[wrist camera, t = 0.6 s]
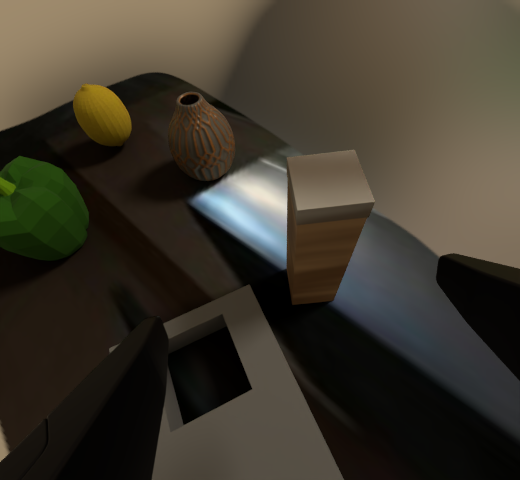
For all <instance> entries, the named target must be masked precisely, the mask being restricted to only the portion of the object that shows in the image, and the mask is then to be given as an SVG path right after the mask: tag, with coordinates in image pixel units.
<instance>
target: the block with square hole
mask: <svg viewBox="0 0 520 480" xmlns="http://www.w3.org/2000/svg"><path fill="white" fill-rule="evenodd" d="M163 325H164V327H165V330H166V332H167V335H168V338H169V351H168V354H170V353H172V352H174V351H176V350H178V349H180V348H182V347H184V346H187V345H189V344H191V343H193V342H195V341H197V340H199V339H201V338H203V337H205V336H207V335H209V334H212V333H214V332H216V331H218V330H220V329H222V328H224V327H226V326H227V327H228V329H229V332H230V334H231V337H232V339H233V342H234V344H235V347H236V349H237V352H238V354H239V357H240V359H241V362H242V364H243V367H244V369H245V372H246V374H247V377H248V379H249V382H250V384H251V387H252V390H250V391H248V392H246V393H244V394H242V395H241V396H239V397H237V398H235V399H233V400H231V401H229V402H227V403H225V404H224V405H222V406H220V407H218V408H216V409H214V410H212V411H210V412H208V413H206V414H205V415H203V416H201V417H199V418H197V419H195V420H193V421H191V422H189V423H188V424H186V425H183V421H182V418H181V414H180V410H179V406H178V402H177V398H176V395H175V391H174V387H173V383H172V379H171V376H170V372H169V368H168V370H167V387H166V396H165V403H164V409H163V415H162V421H161V427H160V433H159V439H158V445H157V451H156V457H155V463H154V469H153V475H152V480H344V479H343V477H342V475H341V473H340V471H339V469H338V467H337V465H336V463H335V461H334V458H333V456H332V454H331V452H330V450H329V448H328V446H327V444H326V442H325V440H324V438H323V436H322V434H321V432H320V430H319V427H318V425H317V423H316V421H315V419H314V417H313V415H312V413H311V411H310V409H309V407H308V405H307V403H306V401H305V398H304V396H303V394H302V392H301V390H300V388H299V386H298V384H297V382H296V380H295V378H294V376H293V374H292V372H291V370H290V367H289V365H288V363H287V361H286V359H285V357H284V355H283V353H282V351H281V349H280V347H279V345H278V343H277V341H276V339H275V336H274V334H273V332H272V330H271V328H270V326H269V324H268V322H267V320H266V318H265V316H264V314H263V312H262V310H261V307H260V305H259V303H258V301H257V299H256V297H255V295H254V293H253V291H252V289H251V287H250V285H247V286H245V287H242V288H240V289H238V290H236V291H234V292H231V293H229V294H227V295H225V296H223V297H221V298H218V299H216V300H214V301H212V302H210V303H207V304H205V305H203V306H201V307H199V308H197V309H194V310H192V311H190V312H188V313H186V314H183V315H181V316H179V317H177V318H175V319H173V320H170V321H168V322H166V323H164V324H163ZM118 345H119V344H118ZM118 345H116V346H114V347H111V348H109V351H110V353H111V352H112V351H113V350H114V349H115V348H116V347H117V346H118Z"/></svg>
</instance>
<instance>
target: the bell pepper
mask: <svg viewBox="0 0 520 480" xmlns="http://www.w3.org/2000/svg"><path fill="white" fill-rule="evenodd" d="M88 224H89V212H88V210H87V208H86V205H85V203H84V201H83V199H82V197H81V195H80V193H79V191H78V189H77V187H76V185H75V184H74V183H73V182H72V181H71V179H70V178H69V177H68V176H67V175H66V174H65V172H64V171H63V170H62V169H60V168H58V167H56V166H54V165H52V164H50V163H46V162H41V161H37V160H34V159H30V158H26V157H22V156H19V157H17V158H16V159H14V160H13V161H11V162H10V163H8V164H7V165H6V166H5V167H4V169H3V170H2V171H1V172H0V247H1V248H3V249H5V250H7V251H10V252H13V253H16V254H19V255H23V256H26V257H30V258H34V259H38V260H46V261H54V260H59V259H62V258H65V257H68V256H71V255H72V254H73V253H74V252H76V251H77V250H78V249H79V248H80V247H82V246H83V244H84V242H85V240H86V238H87V231H86V229H87V228H88Z"/></svg>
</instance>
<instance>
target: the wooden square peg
mask: <svg viewBox="0 0 520 480" xmlns="http://www.w3.org/2000/svg"><path fill="white" fill-rule="evenodd" d="M287 178H288V201H287V274H288V280H289V287H290V294H291V300H292V305H297V304H307V303H316V302H325V301H333V300H334V298H335V295H336V293H337V290H338V288H339V285H340V283H341V280H342V278H343V276H344V273H345V271H346V268H347V266H348V263H349V261H350V258H351V256H352V253H353V251H354V248H355V246H356V243H357V241H358V238H359V236H360V234H361V231H362V229H363V226H364V224H365V221H366V219H367V217H369V215H370V213H371V210H372V208H373V205H374V203H375V201H374V198H373V196H372V193H371V190H370V188H369V185H368V183H367V180H366V178H365V175H364V172H363V170H362V167H361V165H360V162H359V160H358V157H357V155H356V152H355V150H348V151H339V152H332V153H322V154H315V155H305V156H296V157H288V158H287Z"/></svg>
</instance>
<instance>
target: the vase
mask: <svg viewBox="0 0 520 480" xmlns="http://www.w3.org/2000/svg"><path fill="white" fill-rule="evenodd" d="M168 142H169V147H170V151H171V154H172V156H173V158H174V160H175V162H176V164H177V165H178V166H179V168H180V169H181V170H182V171H183V172H184V173H185V174H187V175H188V176H189V177H191V178H194V179H196V180H201V181H211V180H215V179H218V178H219V177H221V176H222V175H224V174H225V173H226V172H227V171H228V170H229V168H230V167H231V165H232V162H233V159H234V155H235V142H234V136H233V132H232V130H231V127H230V125H229V123H228V122H227V120H226V119H225V117H224V116H223V115H222V114H221V113H220V112H219V111H218V110H217V109H215V108H214V107H213V106H211V105H210V104H209V103H207V102H206V101H205V99H204V98H203V97H202V96H201V94H199V93H197V92H187V93H184V94H182V95H180V96H179V97H178V99H177V102H176V110H175V112H174V114H173V117H172V119H171V122H170V125H169V129H168Z"/></svg>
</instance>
